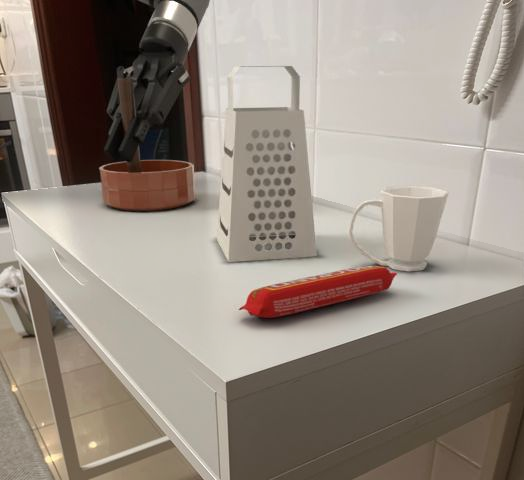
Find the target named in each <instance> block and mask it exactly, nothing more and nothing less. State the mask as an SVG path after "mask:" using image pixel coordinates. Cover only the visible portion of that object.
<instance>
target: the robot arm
mask: <svg viewBox="0 0 524 480" xmlns="http://www.w3.org/2000/svg"><path fill="white" fill-rule="evenodd" d="M138 1H139V2H141V3H143V4H145V5H148V6H150V7H151V8H154V11H153V13H152V15H151V17H150V19H149V21H148V23H147V27H146V28H145V30H144V33H143V35H142V36H141V39H140V42H139V46H138V57H136V59H135V60H134V61H133V62H132V66H129V67H127V68H125V67H124V66H123V65H120V66H118V67H117V68H116V76H117V77H116V80H115V83H114V86H113V90H112V92H111V96H110V99H109V102H108V105H107V109H106V113H107V114H108V116H109V117H110V119H112V121H113V122H112V124H111V126H110V128H109V130H108V139H107V140H106V143H105V145H104V148H103V151H104V153H105V154H106V155H107V157H108V158H109V159H110V160H111V161H112V162H113V163H117V161H118V160H119V157H120V155H121V156H122V157H123V159H124V160H125V162H126V161H127V162H132V160H133V157H134V155H135V153H136V150H137V148H138V146H139V147H140V143H143V142H144V141H145V138H146V136H147V134H148V132H149V129H150V128H152V127H153V125H156V124H157V126H161V125H163V123H164V122H165V120H166V118H167V117H168V116H169V113H170V111H171V110H172V107H173V106H174V104H175V102H176V101H177V100H178V99H177V98H178V97H179V95H180V93H181V91H182V89H183V88H184V87H185V86H186V85H187V84H188V83H189V82H190V81H191V76H190V74H189V73H188V70H187V69H186V68H185V65H184V64H185V61H186V59H187V57H188V54H189V51H190V49H191V46H192V44H193V41H194V40H195V37H196V34H197V32H198V30H199V27H200V25H201V23H202V21H203V18H204V16H205V14H206V11H207V10H208V8H209V6H210V2H211V0H138ZM127 78H132V81H133V91H134V101H135V111H136V115H137V116H136V117H133V118H132V121H131V123H130V125H129V128H128V130H127V132H126V134H125V137H124V133H123V124H122V114H121V105H120V96H119V87H118V79H127ZM141 102H142V103H141ZM140 104H141V106H140ZM139 106H140V110H137V109H138V107H139ZM12 143H13V142H12V140H9V141H6V142H5V143H3V144H1V145H0V150H3V149H5V148H6V147H8V146H10V145H12Z"/></svg>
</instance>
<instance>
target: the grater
mask: <svg viewBox="0 0 524 480" xmlns="http://www.w3.org/2000/svg"><path fill="white" fill-rule="evenodd" d="M260 67H261V68H266V67H267V68H273V67H275V68H276V67H277V68H279V67H280V68H284V69H285V70H286V71H287V73H288V74H289V75H290V77H291V78H290V79H291V80H290V81H291V82H290V83H291V85H290V87H291V88H290V89H291V90H290V107H289V106H278V107H277V106H276V107H275V106H274V107H273V106H272V107H234V89H233V87H234V85H233V83H234V82H233V77H234V76H235V74H236V73H237V71H238V70H239V69H240V68H260ZM226 81H227V85H226V86H227V107H226V108H225V115H224V116H225V117H224V127H223V129H224V130H223V146H222V157H221V158H222V160H221V173H220V186H219V199H218V211H217V212H218V213H217V227H216V241H217V243H218V244H219V246H220V249H221V251H222V253H223V255H224V256H225V258H226V261H227V262H228V263H238V262H239V263H240V262H252V261H253V262H254V261H265V260H267V261H268V260H280V259H281V260H282V259H283V260H284V259H296V258H297V259H298V258H310V257H311V258H312V257H318V253H317V240H316V231H315V220H314V209H313V208H314V207H313V199H312V197H313V196H312V187H311V176H310V164H309V154H308V153H309V152H308V142H307V132H306V122H305V110H304V109H300V98H301V97H300V94H301V93H300V92H301V91H300V90H301V89H300V88H301V76H300V75H299V73H298V72H297V71H296V69H295V68H294V67H293V65H239V66H234V68H233V69H232V70H231V71H230V73H229V74H228V75H227V78H226ZM292 147H293V148H292ZM290 235H294V238H291V237H290ZM271 236H275V238H274V239H271V238H270V237H271ZM280 236H285V237H284V238H283V239H282V238H280ZM254 237H255V240H251V239H250V238H254ZM260 237H265V239H263V240H261V239H260ZM278 243H280V244H281V248H280V249H277V248H276V245H277V244H278ZM286 243H290V244H291V247H290V248H286ZM258 244H259V245H261V247H262V248H261V250H257V249H256V246H257V245H258ZM267 244H270V245H271V249H269V250H267V249H266V245H267Z"/></svg>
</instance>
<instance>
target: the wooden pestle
mask: <svg viewBox="0 0 524 480" xmlns="http://www.w3.org/2000/svg"><path fill="white" fill-rule="evenodd" d="M118 87H119V96H120V105H121V114H122V124H123V133H124V137H125V134H126V132H127V130H128V128H129V125H130V123H131V121H132V118H133V117H137V112H136V111H137V110H136V111H135V101H134V91H133V81H132V78H127V79H118ZM140 153H141V152H140V145H139V146H138V148H137V150H136V153H135V155H134V157H133V160H132V162H127V169H128V172H131V173H135V172H141V162H140V160H141V154H140Z"/></svg>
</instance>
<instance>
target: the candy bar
mask: <svg viewBox="0 0 524 480" xmlns="http://www.w3.org/2000/svg"><path fill="white" fill-rule="evenodd" d="M397 275H398V273H397V272H391V271H390V270H389V269H388V268H387V267H386V266H382V265H362V266H357V267H356V266H355V267H351V268H346V269H340V270H336V271H331V272H327V273H322V274H317V275H313V276H308V277H303V278H298V279H294V280H288V281H284V282H278V283H274V284H270V285H266V286H261V287H260V288H257V289H254V290H252V291H250V293H249V294H248V296H247V298H246V302H245V304H244V305H242V306H241V307H239V309H238V311H242V310H245V311H247V313H248V314H249V315H250V316H252V317H257V318H266V319H269V318H278V317H283V316H288V315H291V314H293V315H294V314H297V313H301V312H305V311H309V310H313V309H318V308H322V307H326V306H330V305H333V304H337V303H342V302H346V301H350V300H354V299H358V298H363V297H366V296H371V295H374V294H378V293H381V292H384V291H386V290H388V289H389V288H390V287H391V286H392V283H393V281H394V278H395V277H396V276H397Z"/></svg>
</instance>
